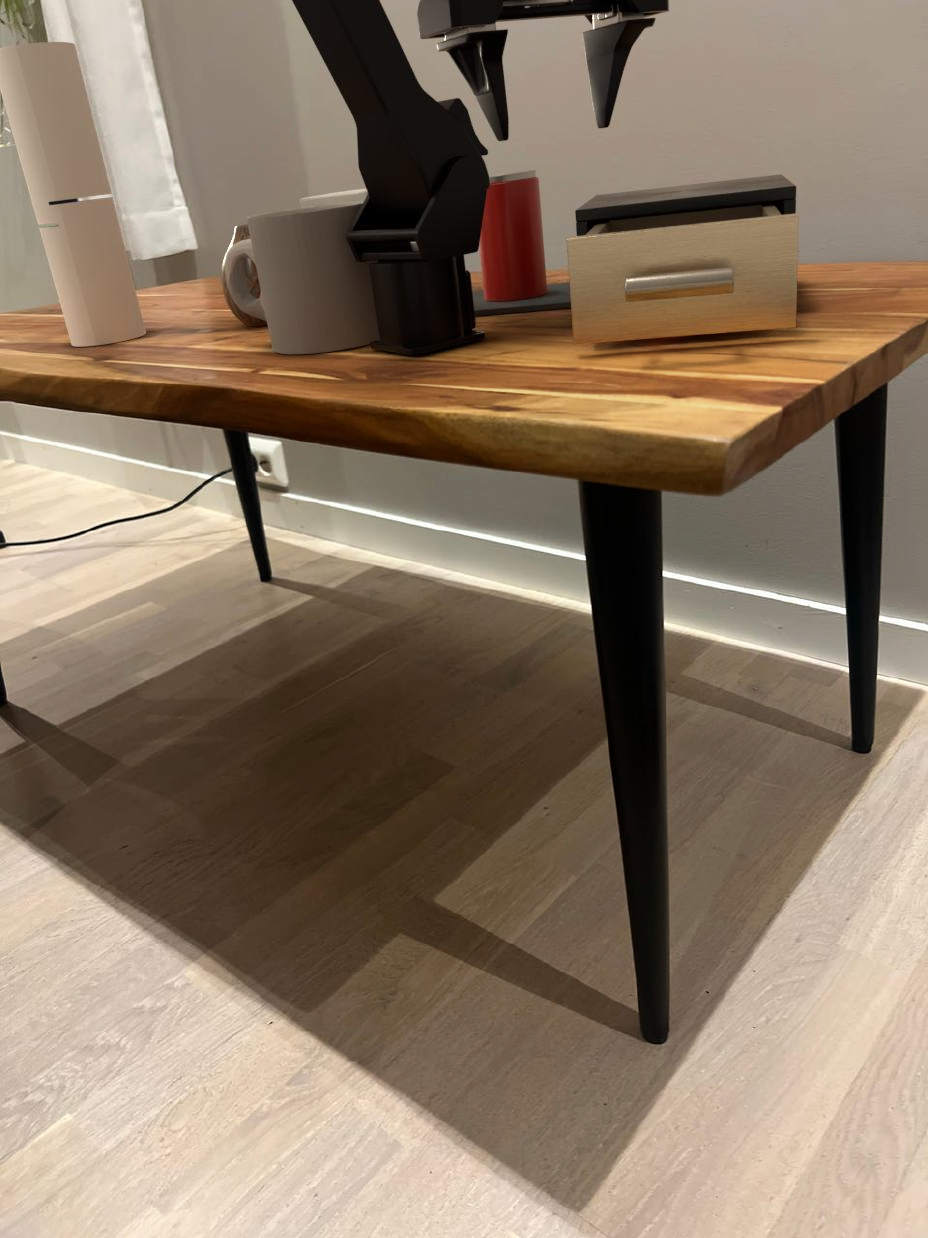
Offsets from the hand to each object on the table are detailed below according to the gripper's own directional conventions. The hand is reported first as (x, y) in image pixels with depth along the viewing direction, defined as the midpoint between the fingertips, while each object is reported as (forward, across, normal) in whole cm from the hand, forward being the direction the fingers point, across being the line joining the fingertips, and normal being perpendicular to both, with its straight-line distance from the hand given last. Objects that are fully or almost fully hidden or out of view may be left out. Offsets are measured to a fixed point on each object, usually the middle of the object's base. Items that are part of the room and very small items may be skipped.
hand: (554, 133), depth 77 cm
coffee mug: (+13, -19, +8) cm, 25 cm away
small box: (+13, -10, +19) cm, 25 cm away
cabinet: (+13, +5, -9) cm, 17 cm away
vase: (+13, -18, +24) cm, 33 cm away
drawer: (+12, -3, -19) cm, 23 cm away
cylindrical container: (+13, -32, +34) cm, 48 cm away
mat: (+13, 0, +8) cm, 15 cm away
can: (+12, 0, +7) cm, 15 cm away
